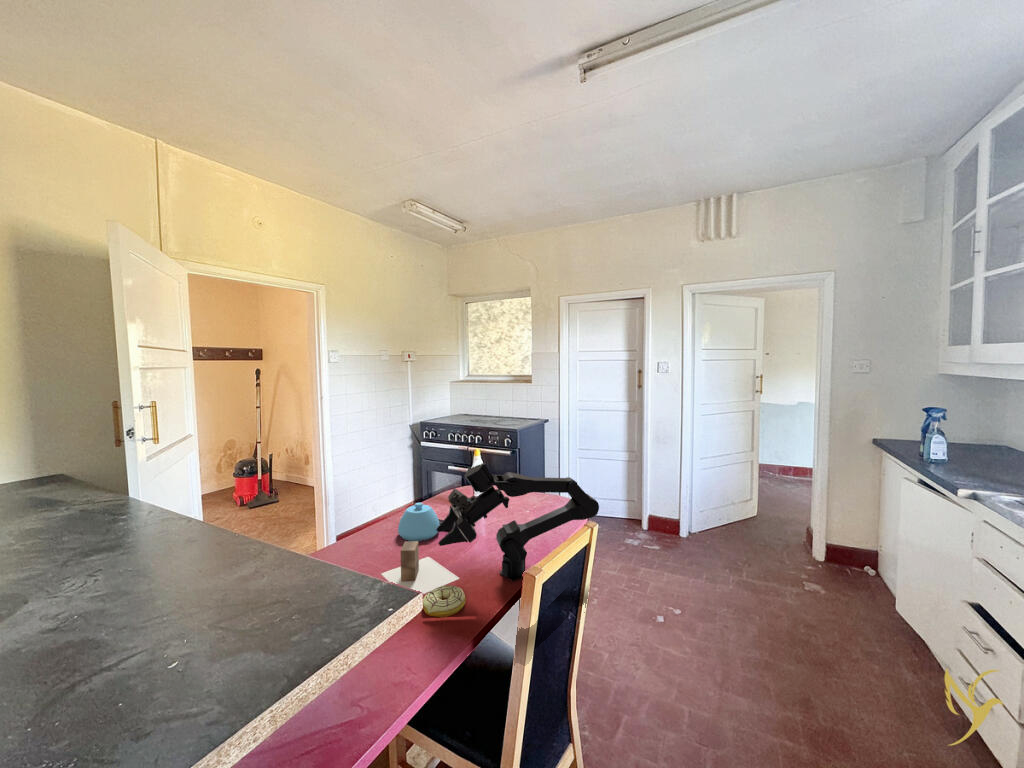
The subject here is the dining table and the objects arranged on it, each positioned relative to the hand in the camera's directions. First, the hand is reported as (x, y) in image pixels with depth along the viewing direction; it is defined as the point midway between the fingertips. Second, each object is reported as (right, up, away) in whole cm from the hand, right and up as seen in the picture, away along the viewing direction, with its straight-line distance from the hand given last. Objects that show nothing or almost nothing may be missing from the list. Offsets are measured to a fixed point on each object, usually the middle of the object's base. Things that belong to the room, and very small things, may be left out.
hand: (438, 537), depth 113 cm
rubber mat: (-6, -13, +4) cm, 15 cm away
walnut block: (-9, -13, +4) cm, 16 cm away
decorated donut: (+3, -14, -10) cm, 18 cm away
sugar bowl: (-13, -12, +35) cm, 39 cm away
